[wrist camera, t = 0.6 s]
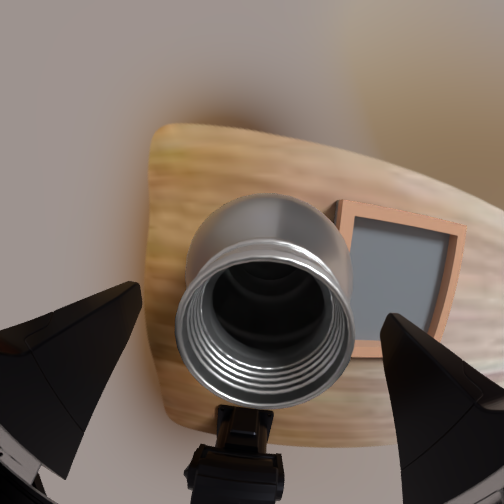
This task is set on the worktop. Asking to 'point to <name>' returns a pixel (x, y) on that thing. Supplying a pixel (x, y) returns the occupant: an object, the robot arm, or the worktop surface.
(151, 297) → the worktop surface
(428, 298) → the tray
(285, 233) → the silver tall hollow piece
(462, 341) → the worktop surface
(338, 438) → the worktop surface
